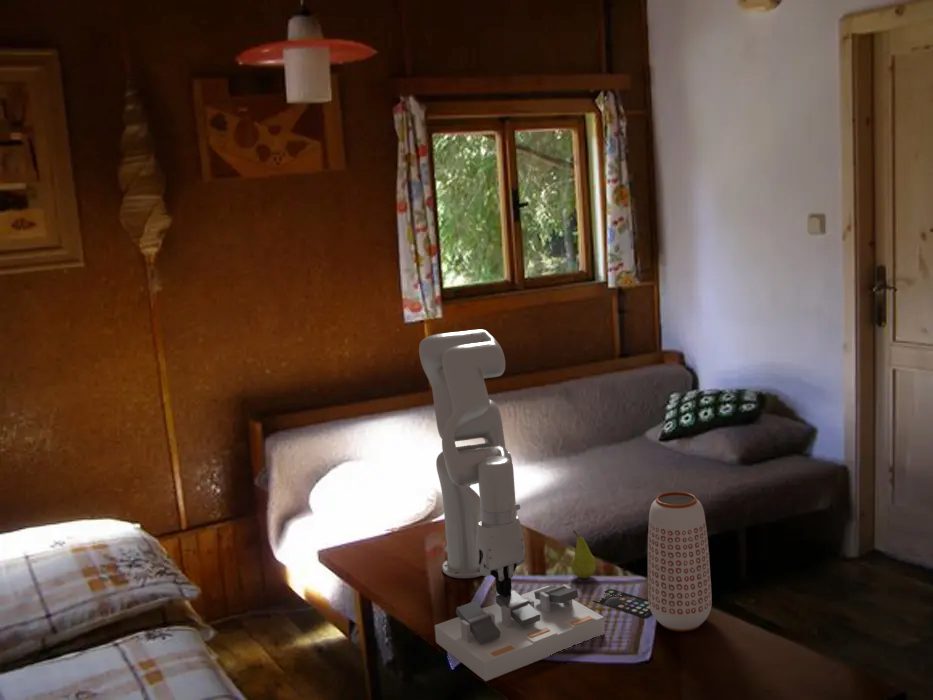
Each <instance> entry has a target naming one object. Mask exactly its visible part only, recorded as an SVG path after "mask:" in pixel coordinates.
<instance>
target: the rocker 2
mask: <svg viewBox="0 0 933 700" xmlns="http://www.w3.org/2000/svg"><path fill="white" fill-rule="evenodd" d="M520 595H521V594H519V593H518V592H517V591H516V590H514V589H513V590H512V589H511V595H510V596H507V597H504V596H503V595H502V594H501V595H500V594H498V595H496V596H495V604H498V605H499V606H500V607H501V606H506V607H507V608H509V609H511V617H512V618H513V619H514V620H515V621H516V622H517V623H518V624H519V625H520V626H521V627H524V626H527V625H529V624H532V623H535V622H537V621H540V615H541V614H540V613H539V612H538V611H537V610H535V609H534V608H533V607H532V606H531V605H530V604H529V603H528V600H527V599H523V598H522V597H521V596H520Z"/></svg>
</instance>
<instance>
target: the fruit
mask: <svg viewBox="0 0 933 700" xmlns="http://www.w3.org/2000/svg"><path fill="white" fill-rule="evenodd" d="M572 533H574V534H575V535H576V545H575V553H574V555H573V558H572V561H571V569H572V572H573V573H574V574H575V575H576V577H578V578H581V579H588V578H590V577H591V576H592V575H593V574H594V572H595V570H596V566H597V563H596V559H595V557H594V556H593V554H592V552H591V550H590V548H589V546H588V544H587V542H586V540H585V539H584V538H583V537H581V536H579V535H578V534H577V532H576V531H575V530H573V532H572Z"/></svg>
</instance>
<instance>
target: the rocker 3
mask: <svg viewBox="0 0 933 700" xmlns="http://www.w3.org/2000/svg"><path fill="white" fill-rule="evenodd" d="M541 592H544V593H546V594H547V595H549V601H550V602H555V603H564V602H567V601H569V600H572V599H573V600H575V599H577V598H579V593H578V590H577V589H573V588H572V589H568V588H565V587H564V586H562V585H560V586H559V585H558V586H553V585H549V587H547V588H544V589H541V590H538V591H535V592H534V594H535V599H538V600H540V593H541Z"/></svg>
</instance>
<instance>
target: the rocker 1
mask: <svg viewBox="0 0 933 700" xmlns="http://www.w3.org/2000/svg"><path fill="white" fill-rule="evenodd" d="M455 614H456V616H457V617H459V618H460V619H461V620H465V621H467V622H468V623H469V624H470V631H471V633H472V634H473V635H474V637H475V638H476V639H477V640H478V642H479V643H480V644H484V643H487V642H489V641H492V640H495V639H497V638H500V633H501V632H500V630H499V629H498V628H497V627H496V626H495V624H494V623H493V622H492V621H491V620H490V618H489V615H488V614H487V613H486V614H485V612H484V611H483V610H482V607H480V605H479V604H478V603H477V601H475V600H474V601H471V602H468V603H465V604H462V605H460V606H456V610H455Z"/></svg>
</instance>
